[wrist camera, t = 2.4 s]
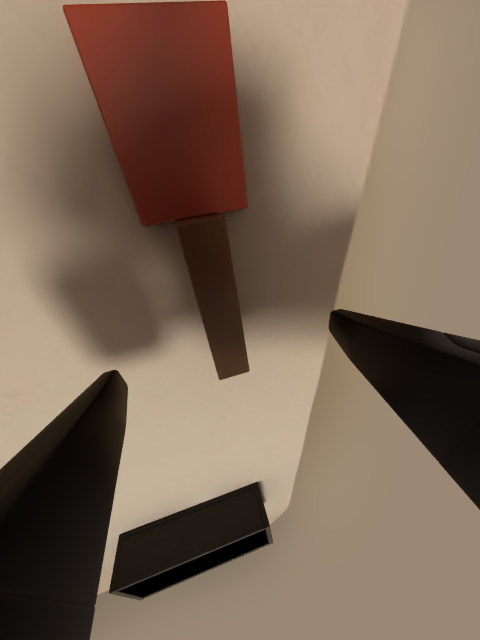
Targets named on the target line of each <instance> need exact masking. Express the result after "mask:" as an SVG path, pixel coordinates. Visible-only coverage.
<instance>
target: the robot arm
mask: <svg viewBox="0 0 480 640" xmlns="http://www.w3.org/2000/svg"><path fill="white" fill-rule="evenodd" d="M329 331H330V332H331V334H332V335H333V337H334V338H335V340H336V341H337V342H338V344H339V345H340V347H341V348H342V350H343V351H344V352H345V354H346V355H347V357H348V358H349V359H350V360H351V362H352V363H353V364H354V365H355V366H356V367H357V369H358V370H359V371H360V372H361V373H362V374H363V376H364V377H365V378H366V379H367V380H368V381H369V382H370V384H371V385H372V386H373V387H374V388H375V389H376V390H377V392H378V393H379V394H380V395H381V396H382V397H383V399H384V400H385V401H386V402H387V403H388V404H389V405H390V407H391V408H392V409H393V410H394V411H395V412H396V413H397V415H398V416H399V417H400V418H401V419H402V420H403V422H404V423H405V424H406V425H407V426H408V427H409V429H410V430H411V431H412V432H413V433H414V434H415V435H416V437H417V438H418V439H419V440H420V441H421V442H422V444H423V445H424V446H425V447H426V448H427V449H428V450H429V452H430V453H431V454H432V455H433V456H434V457H435V458H436V460H437V461H439V463H440V464H441V466H442V467H443V468H444V469H445V470H446V471H447V473H448V474H449V475H450V476H451V477H452V478H453V480H454V481H455V482H456V483H457V484H458V485H459V486H460V488H461V489H462V490H463V491H464V492H465V493H466V495H468V497H469V498H470V499H471V500H472V501H473V503H474V504H475V505H476V506H477V507H478V508H479V510H480V340H475V339H471V338H466V337H462V336H457V335H452V334H448V333H442V332H439V331H435V330H431V329H426V328H422V327H417V326H413V325H408V324H404V323H400V322H395V321H391V320H387V319H382V318H378V317H374V316H369V315H364V314H361V313H356V312H352V311H347V310H343V309H338V310H334V311H332V312H331V313H330V319H329ZM127 397H128V387H127V384H126V382H125V381H124V379H123V378H122V376H121V375H120V373H119V372H118V371H117V370H112V371H108V372H105V373H103V374H102V375H101V376H100V377H99V378H98V379H97V380H96V381H95V382H94V383H92V384H91V385H90V386H89V387H88V388H87V389H86V390H85V391H84V392H83V393H82V394H81V395H80V396H78V397H77V398H76V399H75V400H74V401H73V402H72V403H71V404H70V405H69V406H68V407H67V408H66V409H65V410H63V411H62V412H61V413H60V414H59V415H58V416H57V417H56V418H55V419H54V420H53V421H52V422H51V423H50V424H48V425H47V426H46V427H45V428H44V429H43V430H42V431H41V432H40V433H39V434H38V435H37V436H36V437H35V438H33V439H32V440H31V441H30V442H29V443H28V444H27V445H26V446H25V447H24V448H23V449H22V450H21V451H20V452H18V453H17V454H16V455H15V456H14V457H13V458H12V459H11V460H10V461H9V462H8V463H7V464H6V465H5V466H3V467H2V468H1V469H0V640H90V634H91V629H92V623H93V617H94V611H95V607H94V606H95V603H96V598H97V592H98V586H99V581H100V575H101V569H102V563H103V557H104V552H105V546H106V540H107V534H108V528H109V523H110V517H111V511H112V505H113V499H114V493H115V488H116V482H117V476H118V470H119V464H120V459H121V453H122V447H123V441H124V435H125V429H126V416H127Z"/></svg>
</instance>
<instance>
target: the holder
mask: <svg viewBox="0 0 480 640" xmlns="http://www.w3.org/2000/svg"><path fill="white" fill-rule="evenodd" d="M118 540H119V541H118V545H117V551H116V556H115V562H114V567H113V573H112V579H111V584H110V590H109V593H110V594H115V595H119V596H123V597H128V598H132V599H137V600H142V599H144V598H146V597H149V596H151V595H153V594H156V593H158V592H160V591H163V590H165V589H167V588H170V587H172V586H174V585H177V584H179V583H181V582H184V581H186V580H188V579H191V578H193V577H195V576H197V575H200V574H202V573H204V572H207V571H209V570H211V569H214V568H216V567H218V566H221V565H223V564H225V563H228V562H230V561H232V560H234V559H237V558H239V557H241V556H244V555H246V554H248V553H251V552H253V551H255V550H257V549H260V548H262V547H264V546H267V545H269V544H272V543H273V540H272V535H271V530H270V525H269V521H268V518H267V514H266V511H265V507H264V503H263V500H262V496H261V493H260V489H259V485H258V482H257V483H254V484H252V485H249V486H247V487H244V488H241V489H239V490H236V491H233V492H231V493H228V494H226V495H223V496H220V497H218V498H215V499H212V500H210V501H207V502H205V503H202V504H199V505H197V506H194V507H192V508H189V509H186V510H184V511H181V512H178V513H176V514H173V515H171V516H168V517H165V518H163V519H160V520H158V521H155V522H152V523H150V524H147V525H144V526H142V527H139V528H137V529H134V530H131V531H129V532H126V533H123V534H121V535H119V539H118Z"/></svg>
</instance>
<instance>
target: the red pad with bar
mask: <svg viewBox="0 0 480 640" xmlns="http://www.w3.org/2000/svg"><path fill="white" fill-rule="evenodd" d="M63 11H64V14H65V17H66V19H67V22H68V25H69V28H70V30H71V33H72V36H73V39H74V41H75V44H76V47H77V50H78V52H79V55H80V58H81V60H82V63H83V66H84V69H85V71H86V74H87V77H88V80H89V82H90V85H91V88H92V91H93V93H94V96H95V99H96V101H97V104H98V107H99V110H100V112H101V115H102V118H103V121H104V123H105V126H106V129H107V131H108V134H109V137H110V140H111V142H112V145H113V148H114V151H115V153H116V156H117V159H118V162H119V164H120V167H121V170H122V172H123V175H124V178H125V181H126V183H127V186H128V189H129V192H130V194H131V197H132V200H133V203H134V205H135V208H136V211H137V213H138V216H139V219H140V222H141V224H142V226H150V225H156V224H161V223H167V222H172V221H176V229H177V233H178V236H179V240H180V244H181V247H182V251H183V254H184V258H185V261H186V265H187V268H188V272H189V275H190V279H191V282H192V286H193V289H194V293H195V296H196V300H197V303H198V307H199V310H200V314H201V317H202V321H203V324H204V328H205V331H206V335H207V339H208V342H209V346H210V349H211V353H212V356H213V360H214V363H215V367H216V370H217V374H218V377H219V380H222V379H225V378H229V377H232V376H235V375H239V374H242V373H246V372H249V365H248V358H247V352H246V346H245V340H244V333H243V327H242V321H241V314H240V308H239V302H238V296H237V289H236V283H235V277H234V271H233V264H232V258H231V252H230V246H229V239H228V233H227V227H226V220H225V217H224V216H222V215H219V214H217V213H223V212H228V211H234V210H240V209H245V208H247V207H248V203H247V194H246V184H245V174H244V164H243V155H242V145H241V135H240V125H239V115H238V106H237V96H236V86H235V76H234V66H233V57H232V47H231V37H230V27H229V18H228V8H227V3H226V1H192V2H154V3H116V4H77V5H63Z"/></svg>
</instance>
